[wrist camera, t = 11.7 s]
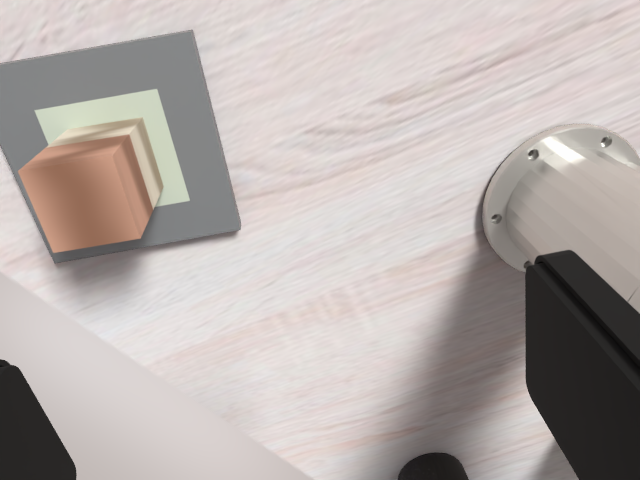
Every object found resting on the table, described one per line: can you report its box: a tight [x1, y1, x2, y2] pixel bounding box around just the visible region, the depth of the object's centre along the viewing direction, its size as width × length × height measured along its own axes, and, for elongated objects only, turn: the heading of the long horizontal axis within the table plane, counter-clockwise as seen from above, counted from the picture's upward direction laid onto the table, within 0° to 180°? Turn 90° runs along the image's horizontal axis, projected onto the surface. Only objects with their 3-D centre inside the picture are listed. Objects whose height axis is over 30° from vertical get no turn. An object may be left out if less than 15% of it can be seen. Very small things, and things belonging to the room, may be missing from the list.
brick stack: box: [18, 117, 164, 253], centre depth 32 cm, size 5×5×8 cm
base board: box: [0, 30, 241, 263], centre depth 37 cm, size 14×14×1 cm
